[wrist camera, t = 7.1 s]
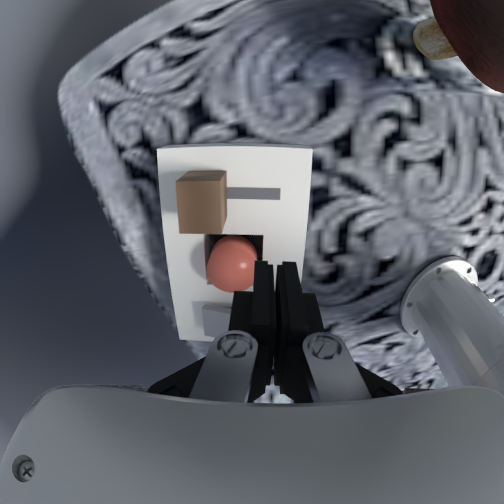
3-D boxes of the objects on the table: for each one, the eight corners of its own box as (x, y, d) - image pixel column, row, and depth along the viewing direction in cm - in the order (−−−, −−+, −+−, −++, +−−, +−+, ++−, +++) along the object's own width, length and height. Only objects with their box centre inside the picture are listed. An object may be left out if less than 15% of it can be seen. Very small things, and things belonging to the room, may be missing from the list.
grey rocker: (263, 314, 28) (261, 319, 27) (261, 340, 29) (260, 346, 28) (204, 304, 29) (201, 308, 28) (207, 330, 30) (204, 335, 30)
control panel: (306, 145, 25) (314, 150, 22) (290, 327, 34) (293, 349, 31) (167, 145, 25) (153, 150, 22) (184, 323, 35) (178, 344, 31)
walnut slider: (226, 170, 23) (220, 180, 20) (227, 216, 25) (221, 234, 21) (188, 170, 23) (175, 181, 20) (190, 215, 25) (179, 233, 21)
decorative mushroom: (435, 112, 22) (545, 130, 9) (355, 38, 20) (438, -17, 7) (474, 51, 18) (571, 46, 5) (403, -19, 16) (482, -70, 2)
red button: (257, 235, 27) (257, 249, 24) (256, 276, 29) (256, 293, 26) (210, 234, 27) (205, 248, 24) (212, 275, 29) (208, 291, 26)
